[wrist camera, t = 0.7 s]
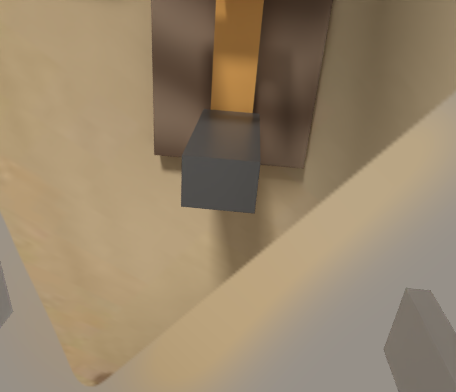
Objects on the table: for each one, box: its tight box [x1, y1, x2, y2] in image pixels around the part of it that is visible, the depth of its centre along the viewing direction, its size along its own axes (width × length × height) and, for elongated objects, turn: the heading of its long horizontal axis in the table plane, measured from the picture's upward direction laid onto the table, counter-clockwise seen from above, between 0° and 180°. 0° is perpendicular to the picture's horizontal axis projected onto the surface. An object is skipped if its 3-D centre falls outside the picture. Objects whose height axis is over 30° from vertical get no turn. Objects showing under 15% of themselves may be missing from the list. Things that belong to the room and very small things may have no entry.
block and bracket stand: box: [181, 0, 264, 213], centre depth 23 cm, size 13×6×10 cm, turn 176°
